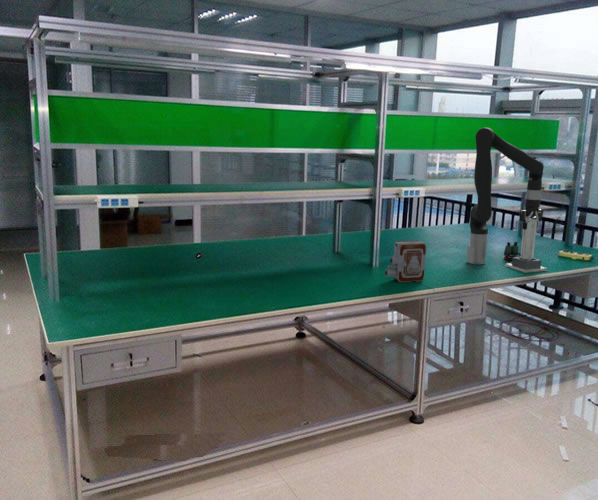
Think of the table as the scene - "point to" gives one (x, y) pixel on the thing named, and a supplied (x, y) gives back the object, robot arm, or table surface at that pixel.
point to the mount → (526, 265)
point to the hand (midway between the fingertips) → (529, 228)
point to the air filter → (528, 240)
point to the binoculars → (511, 251)
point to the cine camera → (408, 261)
